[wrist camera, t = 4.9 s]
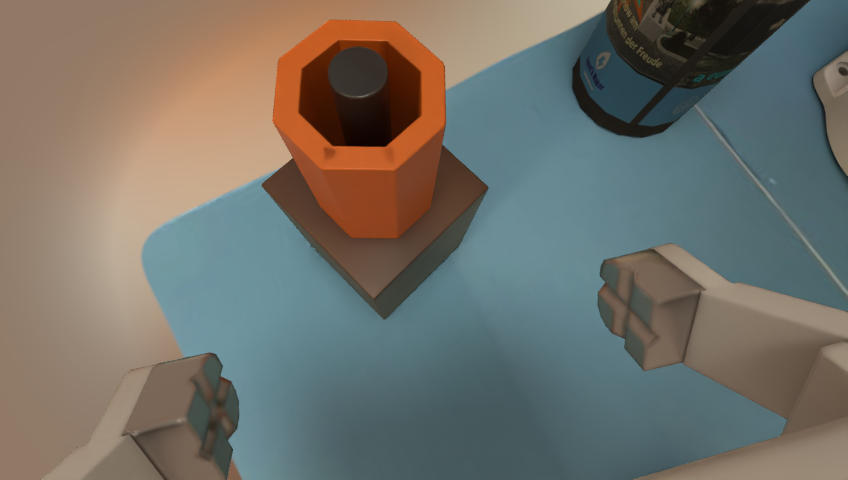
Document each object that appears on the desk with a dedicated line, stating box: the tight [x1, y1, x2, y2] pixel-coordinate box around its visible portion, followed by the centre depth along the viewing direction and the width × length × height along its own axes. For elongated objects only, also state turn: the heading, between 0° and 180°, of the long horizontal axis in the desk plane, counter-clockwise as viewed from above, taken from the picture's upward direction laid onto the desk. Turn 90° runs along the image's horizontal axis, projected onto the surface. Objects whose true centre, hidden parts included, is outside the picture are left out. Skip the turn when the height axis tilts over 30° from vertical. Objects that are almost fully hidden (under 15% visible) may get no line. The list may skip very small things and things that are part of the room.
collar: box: [273, 20, 446, 238], centre depth 18 cm, size 5×5×8 cm
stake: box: [262, 46, 488, 320], centre depth 23 cm, size 8×8×21 cm
